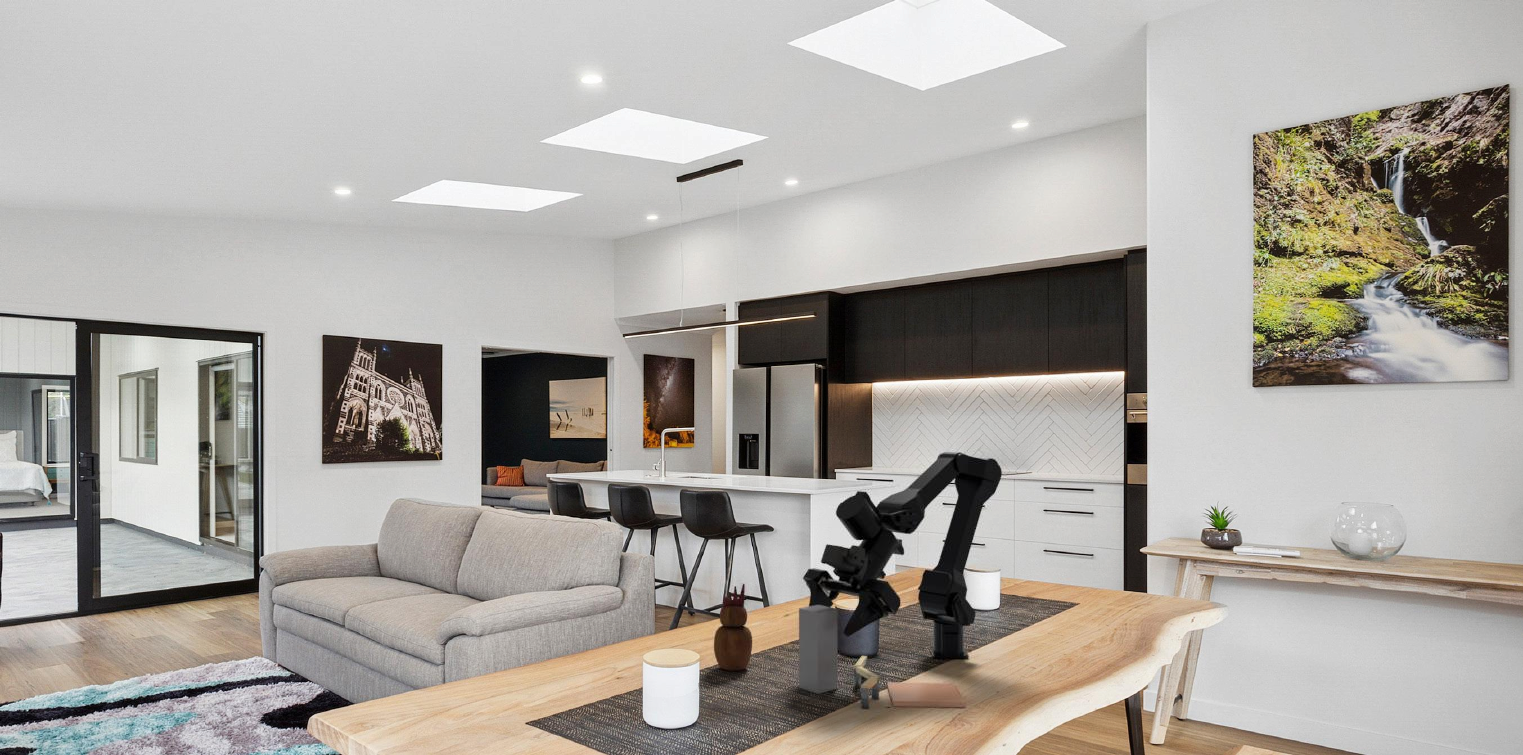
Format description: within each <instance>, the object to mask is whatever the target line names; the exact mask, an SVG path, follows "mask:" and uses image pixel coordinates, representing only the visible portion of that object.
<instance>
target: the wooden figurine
mask: <svg viewBox="0 0 1523 755" xmlns="http://www.w3.org/2000/svg"><path fill="white" fill-rule="evenodd" d="M745 588H746V585H745V583H742V586H741V590H740V593H739V596H738V591H737V586H734V588H733V596H732V593H731V592H728V597H727V596H724V599H723V604H722V607H721V608H720V611H719V623H720V624H721V626H719V627H717V629H716V631H715V634H714V636H713V637H714V639H713V652H714V656H715V660H716V662H717V664H718V666H719V667H720V668H721V669H723V670H725V671H728V672H737V671H742V670H744V669H746V668H748V665H749V663H750V660H751V656H752V650H753V635H752V632H751V630H750V628H749V627H747V626H746V624H747V621H748V612H747V609H746V608H745ZM732 597H733V598H732Z"/></svg>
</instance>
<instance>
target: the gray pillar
mask: <svg viewBox="0 0 1523 755" xmlns="http://www.w3.org/2000/svg"><path fill="white" fill-rule="evenodd" d="M838 674H839V673H838V608H835V607H832V606H831V607H827V606H822V605H814V606H809V605H808V606H803V607H799V608H798V688H800V689H803V690H805V691H808V692H811V693H815V694H823V693H828V692H829V691H833V690H837V689H838V686H839V685H838V684H839V683H838V682H839V681H838Z"/></svg>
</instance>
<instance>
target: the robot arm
mask: <svg viewBox="0 0 1523 755" xmlns="http://www.w3.org/2000/svg"><path fill="white" fill-rule="evenodd" d="M1002 473H1003V472H1002V467H1001V466H1000V465H999V463H998V461H997V460H996V459H994V458H992V457H991V458H990V457H989V458H987V457H975V456H970V455H968V454H965V453H962V452H958V451H957V452H954V451H944V452H942V453H939V454H938V455H937V458H936V460H935V461H934V462H933V463H932V464H931V465H930V466H929V467H928V468H927V469H925V471H924V472H923V473H921V474H920V475H919V476H918V477H917V478H916V479H915V480H914V481H913V482H912V483H911V484H910V485H909V486H907V487H906V488H905V489H904V490H902V491H899V492H896V493H893V494H890V495H889V496H887V497H886V498H884V499H882V500H881V501H880V502H879V503H878V504H877V505H875V504H874V502H873V501H872V499H871V496H870V495H869V493H868V492H867V491H862V490H861V491H860V490H859V491H856V493H855V494H854V495H851V496H850V497H848V498H846V499H845V500H843V501H842V502H840V503H839V504H838V506H837V507H836V510H835V515H836V517H837V519H838V520H839V521H840V523H841V524H842V525H843V526H844V528H845V529H846V531H847V532H848V533H849V534H850V536H851V537H852V538H853V540H856V541H861V542H860V544H859V545H853V544H852V545H851V546H850V547H845V546H842V545H834V544H828V543H827V544H825V548H824V550H823V553H822V557H821V559H820V563H822V564H824V565H825V564H826V565H828V566H829V567H832V568H833V571H832V573H833V574H834V575H835V576H836V577H838V580H837V579H834V578H833V576H832V575H831V574H830V573H829V571H828V570H825V569H820V568H814V567H812V568H808V569H807V571H806V572H805V574H804V575H803V577H802V579H803V581H804V582H805V583H806V584H805V586H807V588H808V589H809V592H810V593H809V594H810V596H809V597H810V598H809V603H808V607H809V606H814V605H822V606H827V607H831V608H832V606H833V605H834V602H833V601H834V600H836V599H837V598H838V596H839V595H840V594H843V595H844V594H845V595H849V596H852V597H856V598H858V604H857V605H856V606H855V609H854V611H853V613H852V614H851V616H850V617H849V620H848V622H847V624H846V625H845V627H844V630H843V632H842V633H843V635H844V636H845V637H847V638H849V637H851V636H852V635H854V634H855V633H857V632H859V631H860V630H862V629H864V628H865V627H867V626H869V625H871V624H872V623H874V622H876V621H879V620H880V619H882V618H888V616H889V615H893V616H895V615H896V614H897V612H898V610H899V609H900V608H901V598H900V596H899V594H898V593H897V592H896V591H895V589H894V588H893V586H892V585H891V584H890V583H889V582H888V581H887V580H884V579H885V577H886V576H887V574H886V573H885V571H884V569H885V568H886V566H887V564H888V562H889V561H890V560H891V558H892V556H893V555H900V556H904V555H905V548H904V546H903V540H902V539H898V538H897V537H896V535H895V534H894V533H897V534H906V535H910V534H913V533H914V532H915V531H916V530H917V528H918V527H919V526H920V525H921V523H922V521H923V520H924V519H925V516H926V515H925V513H926V509H927V507H928V506H929V505H930V504H931V503H932V502H933V501H934V500H935V499H936V498H937V497H938V496H939V495H940V494H941V493H942V492H943V491H944V490H945V489H946V488H947V487H948V486H949V485H950V484H951V483H952V482H953V481H954V486H955V489H956V492H957V499H956V503H955V507H954V510H953V514H952V517H951V520H950V522H949V526H948V530H947V532H946V536H945V540H944V543H943V546H942V549H941V553H940V556H939V559H938V562H937V565H936V566H935V567H934V568H933V569H925V570H924V571H923V573H922V578H921V582H920V584H919V586H918V588H917V590H918V596H917V600H918V604H919V606H920V610H921V615H922V618H923V619H924V620H929V621H932V633H933V634H932V636H933V637H932V640H933V644H932V645H933V646H929V651H930V653H931V655H932V657H933V658H936V659H937V658H939V659H947V658H948V659H969V658H970V655H969V654H968V652H967V651H966V650H965V627H970V626H971V625H972V624H974V623H975V618H976V611H975V609H974V608H973V606H972V605H971V604H970V603H969V601H968V600H967V594H968V586H967V583H966V580H965V576H964V572H965V568H966V565H967V562H968V558H969V554H970V551H971V548H972V544H973V541H974V537H975V533H976V530H977V526H978V524H979V520H980V517H981V513H982V510H983V506H984V504H985V503H986V502H987V501H988V500H989V499H990V498H992V496H994V495H995V493H996V491H997V489H998V486H999V484H1000V482H1001V479H1002Z"/></svg>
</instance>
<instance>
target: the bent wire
mask: <svg viewBox="0 0 1523 755" xmlns="http://www.w3.org/2000/svg"><path fill="white" fill-rule="evenodd" d="M868 664H869V663H868V655H861V656H860V657H859V659H858V661H857V662H856V663H855V664H854V665H853V688H855V689H860V708H861V709H862V710H863V709H865V710H867V709H870V708H869V706H870V705H869V703H870V700H869V699H870V698H869V695H870V694H871V699H872V700H878V699H880V676H879V675H877V674H876V673H874V672H872V671H870V670H869V669H868ZM862 678H864V679H867V680H865V681H864V682H863V683H862ZM869 690H871V693H870V694H869V692H870V691H869Z"/></svg>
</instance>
